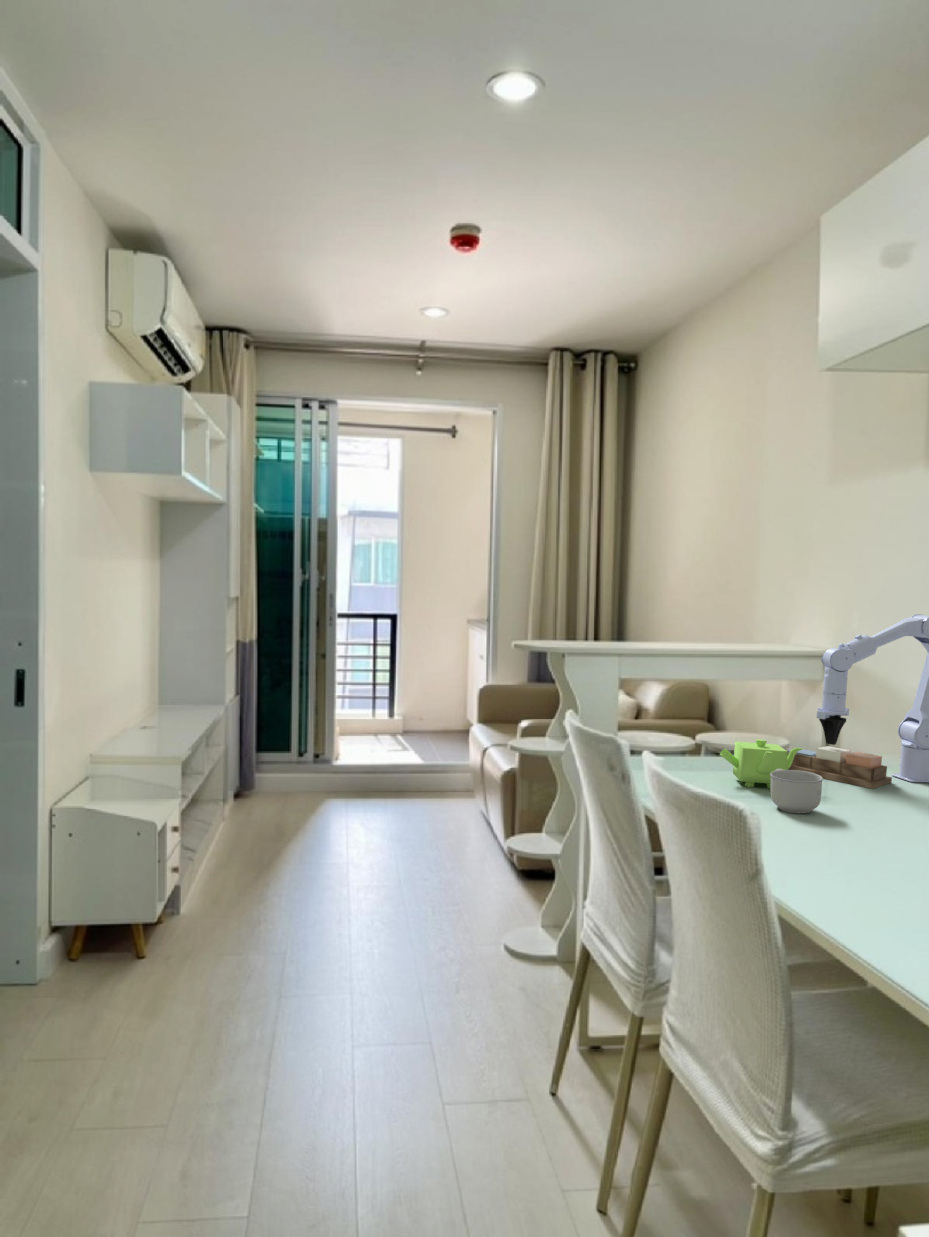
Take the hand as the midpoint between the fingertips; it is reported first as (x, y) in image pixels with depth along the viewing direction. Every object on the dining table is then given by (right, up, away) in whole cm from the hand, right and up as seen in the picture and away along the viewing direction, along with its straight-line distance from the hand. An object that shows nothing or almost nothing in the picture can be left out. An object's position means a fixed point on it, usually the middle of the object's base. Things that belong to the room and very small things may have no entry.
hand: (830, 744), depth 234 cm
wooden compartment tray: (0, -8, 0) cm, 8 cm away
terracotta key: (+6, -5, -6) cm, 10 cm away
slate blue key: (-5, -6, +5) cm, 10 cm away
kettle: (-25, -8, -17) cm, 31 cm away
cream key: (0, -5, -1) cm, 5 cm away
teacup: (-25, -9, -39) cm, 47 cm away
